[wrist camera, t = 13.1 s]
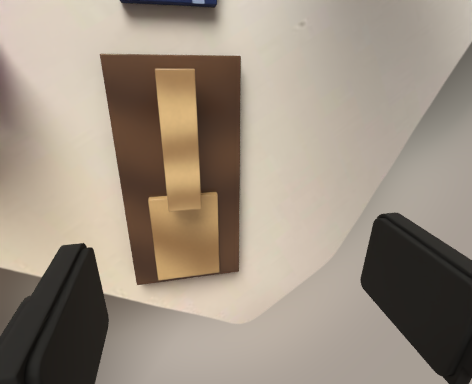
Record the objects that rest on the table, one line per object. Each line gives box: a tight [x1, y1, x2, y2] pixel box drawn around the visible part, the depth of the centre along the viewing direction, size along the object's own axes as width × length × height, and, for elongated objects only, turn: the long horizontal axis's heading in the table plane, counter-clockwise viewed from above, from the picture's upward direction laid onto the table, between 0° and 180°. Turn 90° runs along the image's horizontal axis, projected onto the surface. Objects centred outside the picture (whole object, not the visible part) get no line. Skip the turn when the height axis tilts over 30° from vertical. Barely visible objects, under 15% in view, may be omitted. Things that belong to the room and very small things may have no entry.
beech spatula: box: [148, 69, 219, 280], centre depth 28 cm, size 22×7×4 cm, turn 0°
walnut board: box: [100, 54, 241, 285], centre depth 30 cm, size 24×12×2 cm, turn 0°
